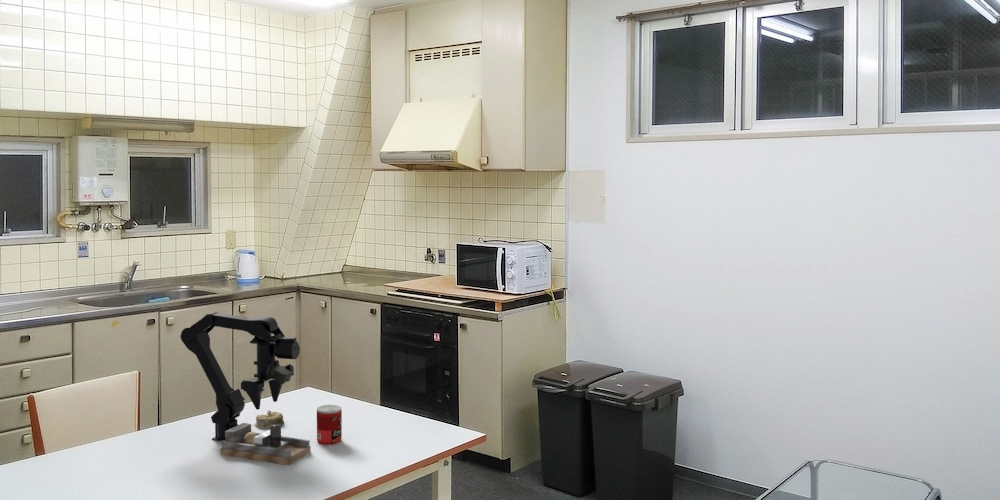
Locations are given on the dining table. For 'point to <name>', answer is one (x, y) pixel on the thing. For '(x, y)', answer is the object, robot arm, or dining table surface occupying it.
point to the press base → (262, 447)
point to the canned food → (329, 424)
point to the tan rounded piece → (249, 438)
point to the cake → (269, 420)
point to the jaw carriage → (271, 438)
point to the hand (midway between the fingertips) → (266, 405)
